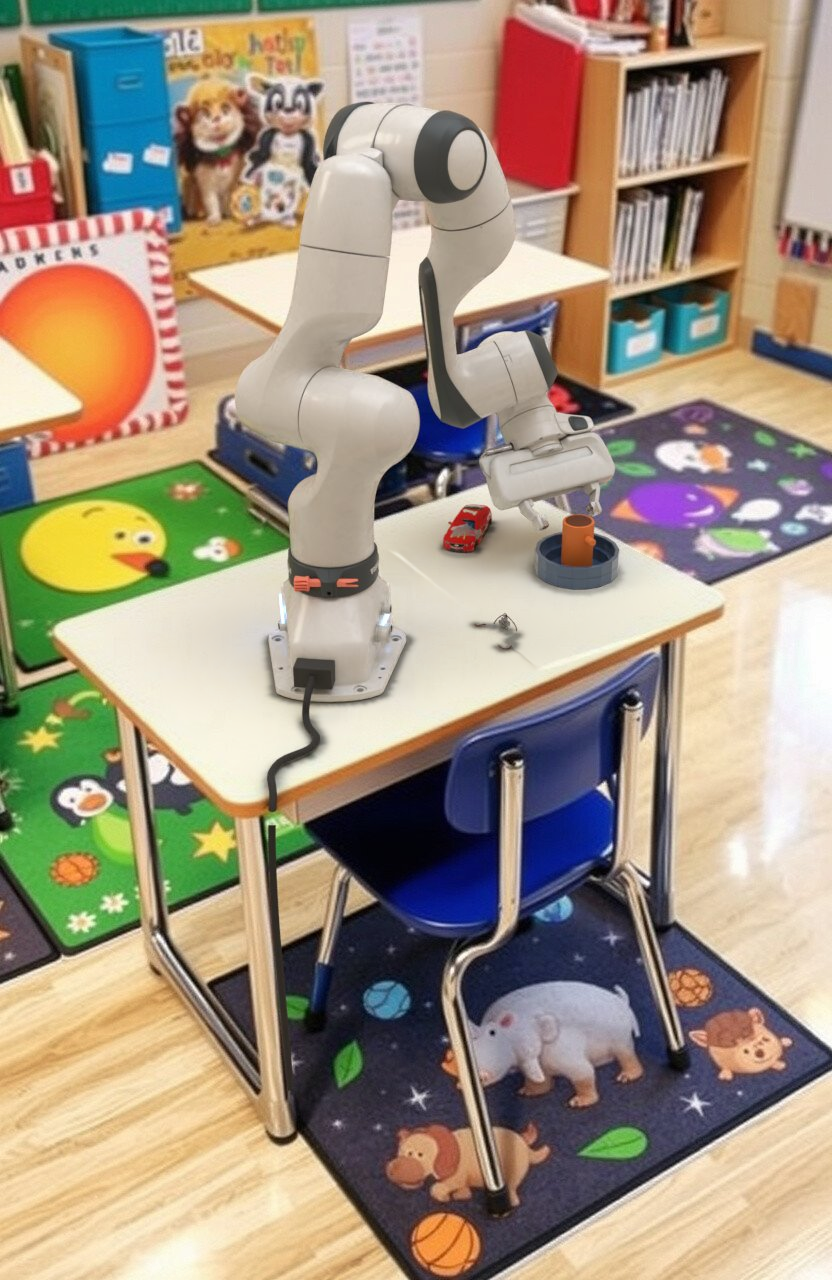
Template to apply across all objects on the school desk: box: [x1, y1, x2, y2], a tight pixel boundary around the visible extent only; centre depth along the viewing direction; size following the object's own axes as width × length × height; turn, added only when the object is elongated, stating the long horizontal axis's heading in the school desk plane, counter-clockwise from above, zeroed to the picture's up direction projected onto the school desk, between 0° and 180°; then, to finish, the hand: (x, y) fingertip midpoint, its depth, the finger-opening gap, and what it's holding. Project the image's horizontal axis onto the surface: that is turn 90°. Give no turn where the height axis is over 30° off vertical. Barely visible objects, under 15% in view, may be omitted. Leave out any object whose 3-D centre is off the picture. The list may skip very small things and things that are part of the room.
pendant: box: [474, 612, 518, 650], centre depth 191 cm, size 8×4×3 cm, turn 35°
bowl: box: [534, 531, 620, 590], centre depth 206 cm, size 12×12×4 cm
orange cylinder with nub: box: [561, 513, 596, 567], centre depth 204 cm, size 6×5×8 cm
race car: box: [442, 503, 493, 553], centre depth 217 cm, size 13×5×4 cm, turn 161°
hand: (569, 521), depth 205 cm, fingers open, 8 cm apart
